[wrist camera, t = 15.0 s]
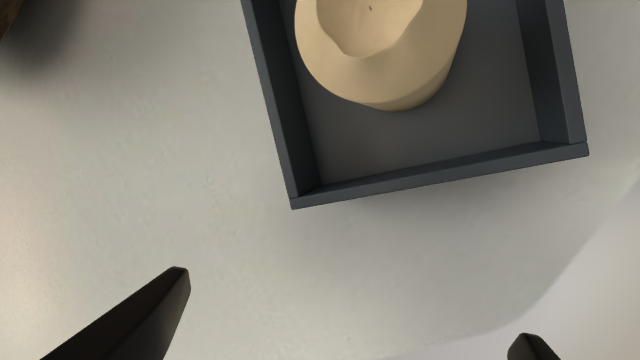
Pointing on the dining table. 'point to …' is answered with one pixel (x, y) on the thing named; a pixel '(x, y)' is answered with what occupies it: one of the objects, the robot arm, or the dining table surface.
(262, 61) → the dark gray square tray
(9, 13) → the bowl
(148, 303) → the robot arm
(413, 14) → the candle
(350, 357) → the dining table surface
